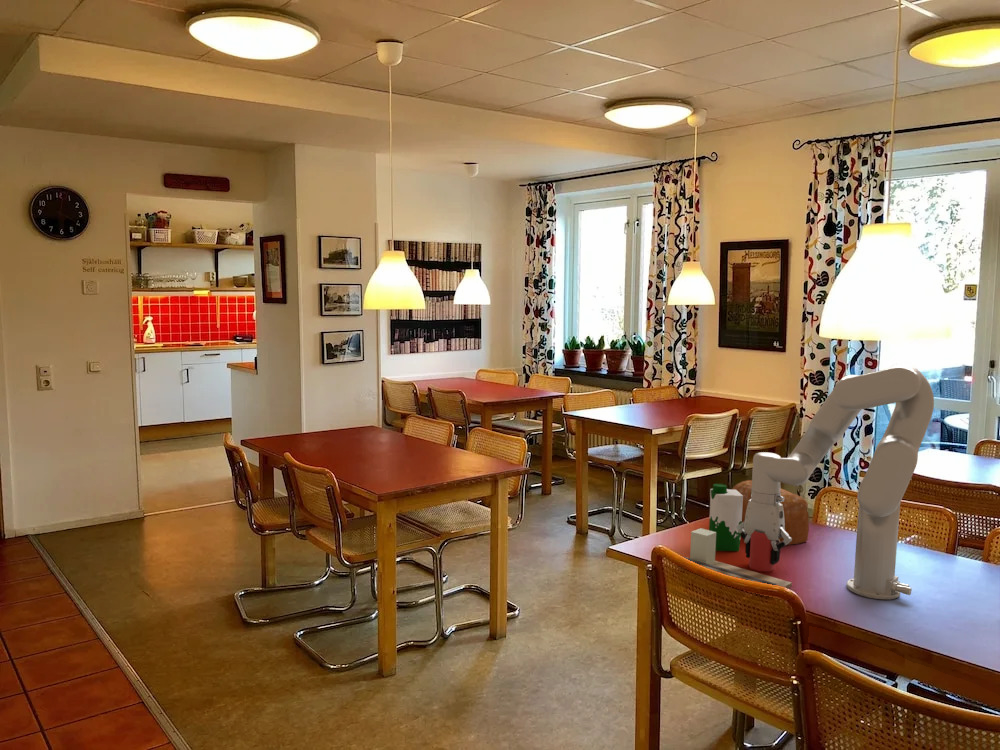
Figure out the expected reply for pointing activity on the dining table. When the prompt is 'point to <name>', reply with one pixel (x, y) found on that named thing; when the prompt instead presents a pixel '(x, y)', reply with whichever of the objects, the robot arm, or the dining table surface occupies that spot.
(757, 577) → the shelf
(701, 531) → the carton
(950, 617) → the dining table surface
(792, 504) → the bread
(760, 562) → the beer can
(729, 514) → the milk carton
